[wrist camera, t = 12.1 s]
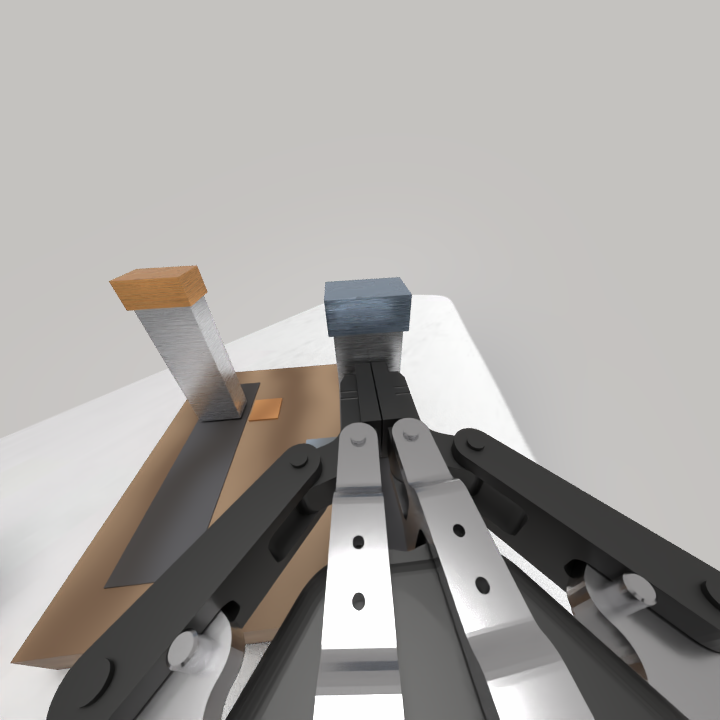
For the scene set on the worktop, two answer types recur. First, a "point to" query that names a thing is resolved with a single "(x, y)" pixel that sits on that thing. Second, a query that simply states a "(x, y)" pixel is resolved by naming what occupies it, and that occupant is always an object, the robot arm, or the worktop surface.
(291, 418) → the switch base
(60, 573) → the worktop surface
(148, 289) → the lever orange
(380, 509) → the robot arm
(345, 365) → the lever blue
